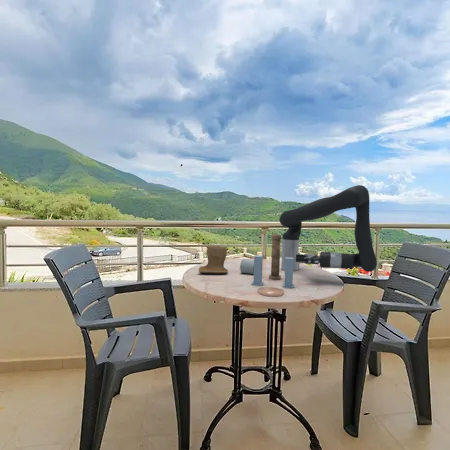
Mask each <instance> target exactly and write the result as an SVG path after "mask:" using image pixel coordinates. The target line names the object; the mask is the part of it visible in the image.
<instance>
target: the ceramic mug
mask: <svg viewBox="0 0 450 450" xmlns="http://www.w3.org/2000/svg"><path fill="white" fill-rule="evenodd" d="M239 265H240V266H239V270H240V273H242V274H248V275H254V259H249V258H242V260H241V261H240V264H239Z"/></svg>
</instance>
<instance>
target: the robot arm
mask: <svg viewBox="0 0 450 450" xmlns="http://www.w3.org/2000/svg"><path fill="white" fill-rule="evenodd" d="M347 209H355V211H356V212H355V213H356V217H355V225H354V239H355V240H354V241H355V246H356V248H357V250H358V253H341V252H332V251H331V252H330V251H321V252H320V254H319V255H318V254H313V253H304V254H301V253H300V252H299V250H300V248H299V247H300V236H301V233H302V223H303V222H305V221H315V220H318V219H322V218H325V217H327V216H330V215H332V214H334V213H336V212H338V211H342V210H343V211H344V210H347ZM370 222H371V221H370V192H369V190H368V187H366V186H364V185H362V184H359V185H358V184H357V185H355V186H351V187H348V188H346V189H344V190H342V191H340V192H338V193H336V194H335V195H332V196H327V197H322V198H319V199H316V200H313V201H310V202H309V203H306V204H304V205H302V206H300V207H297V208H294V209H289V210H285V211H283V212H282V213H281V214H280V216H279V223H280V225H281V226H282V227H284V228H288V229H287V230H286V231H285V232H284V233H283V234H282V236H281V241H282V244H281V268H280V269H281V270H282V271H285V258H286V257H291V258H294V260H293V272H295V271H299V270H300V263H304V264H305V265H319V267H320V268H325V269H353V268H361V269H362V270H363V271H365V272H369V273H370V272H373V271H374V270H376V268H377V265H378V262H377V257H376V254H375V253H376V252H375V250H374V246H373V244H374V243H373V237H372V232H371V223H370Z"/></svg>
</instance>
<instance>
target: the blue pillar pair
mask: <svg viewBox="0 0 450 450" xmlns="http://www.w3.org/2000/svg"><path fill="white" fill-rule="evenodd" d="M263 256H264V255H254V257H253V260H254V274H253V280H252V282H251V285H252V286H259V287H260V286H261V287H264V283H265V282H264V281H263V262H264V261H263V259H264V257H263ZM293 260H294V258H291V257H286V258H285V270H284V283H282V288H285V289H295V284H294V283H293V280H294V271H293Z"/></svg>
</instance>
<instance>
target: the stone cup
mask: <svg viewBox="0 0 450 450" xmlns="http://www.w3.org/2000/svg"><path fill="white" fill-rule="evenodd" d="M227 251H228V249H227V247H226V246H224V245H223V246H222V245H215V244H209V245H208V246H207V249H206V256H207V264H206V265H204V266H203V265H202V266H200V267H199V268H198V273H199V274H215V275H216V274H226V273H228V272H229V270H228V269H227V268H225V265H224V264H225V261H226V258H227V254H228V252H227Z"/></svg>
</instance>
